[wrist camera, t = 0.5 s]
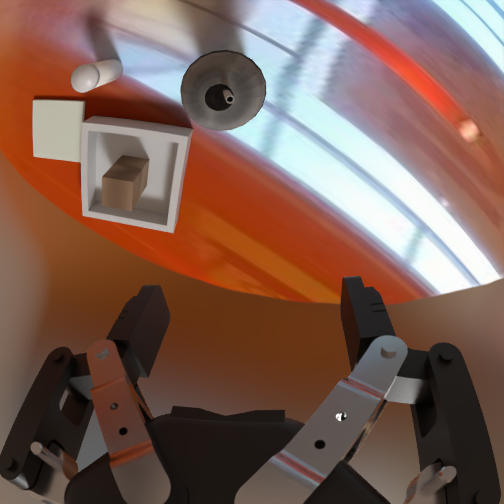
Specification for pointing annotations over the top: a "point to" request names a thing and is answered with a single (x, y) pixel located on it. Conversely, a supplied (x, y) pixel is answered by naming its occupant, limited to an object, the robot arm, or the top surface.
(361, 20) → the top surface
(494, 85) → the top surface
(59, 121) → the sage coaster
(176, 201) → the grey tub
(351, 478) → the robot arm
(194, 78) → the beverage cup
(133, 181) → the walnut block
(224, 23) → the top surface
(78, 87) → the salt shaker
